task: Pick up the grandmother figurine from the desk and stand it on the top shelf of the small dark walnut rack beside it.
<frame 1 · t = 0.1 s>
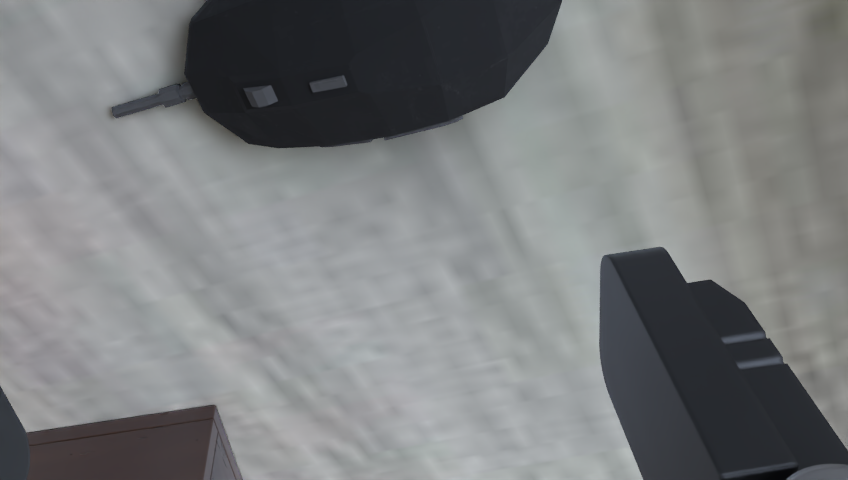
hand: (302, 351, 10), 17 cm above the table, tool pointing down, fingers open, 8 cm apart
gaming mouse: (327, 37, 26), on the table
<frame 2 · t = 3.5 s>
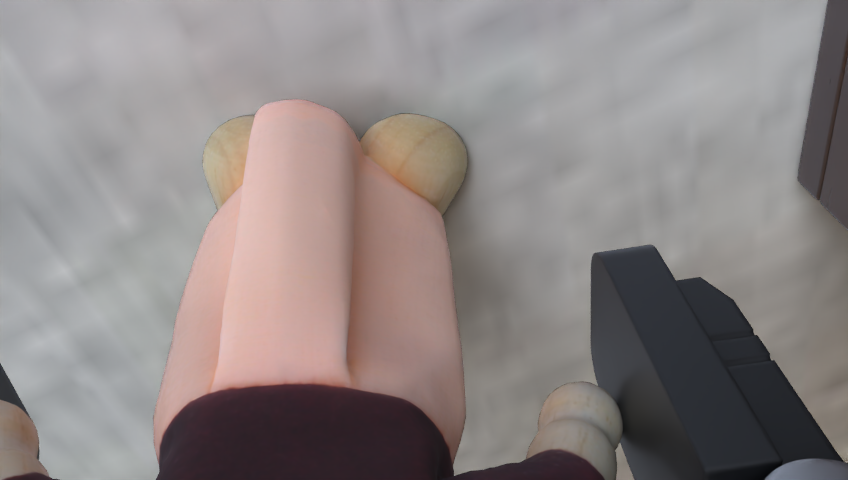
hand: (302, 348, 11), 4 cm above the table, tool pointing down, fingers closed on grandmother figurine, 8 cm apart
grandmother figurine: (304, 178, 14), on the table, touching gripper
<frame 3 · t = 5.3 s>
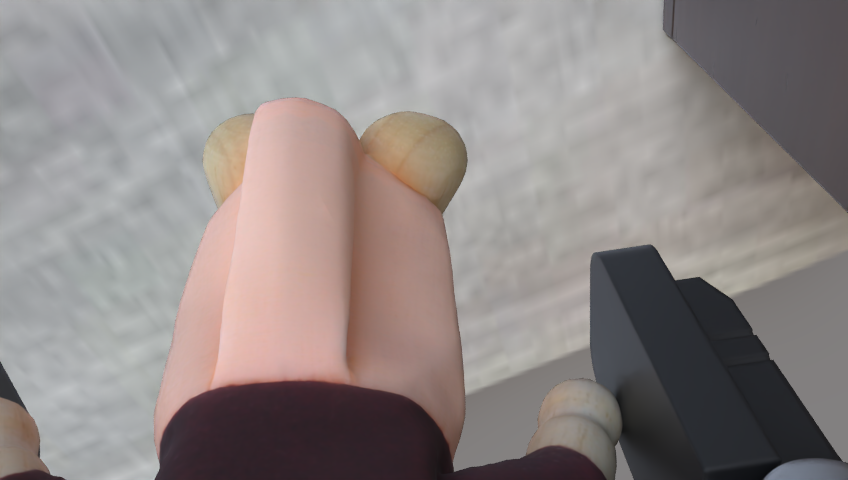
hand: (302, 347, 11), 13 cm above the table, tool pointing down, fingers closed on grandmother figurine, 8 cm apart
grandmother figurine: (304, 176, 14), point 9 cm above the table, touching gripper
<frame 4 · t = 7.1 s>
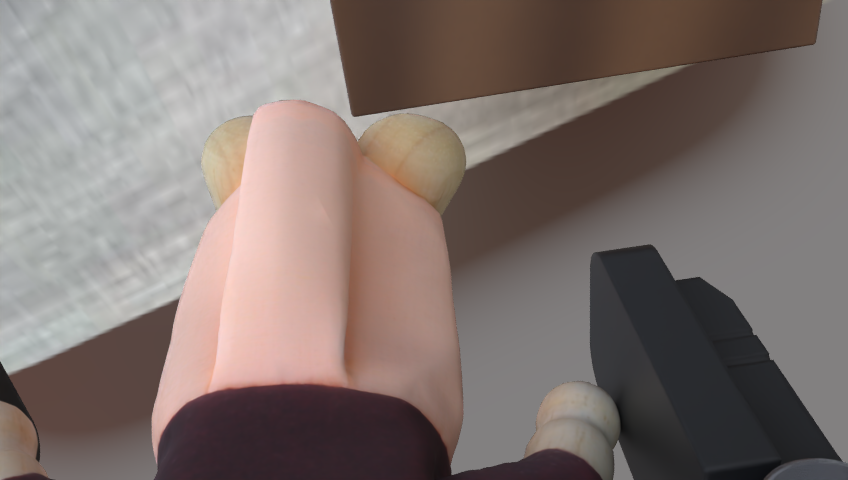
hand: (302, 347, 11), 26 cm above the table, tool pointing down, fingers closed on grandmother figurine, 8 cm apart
grandmother figurine: (303, 178, 14), point 22 cm above the table, touching gripper
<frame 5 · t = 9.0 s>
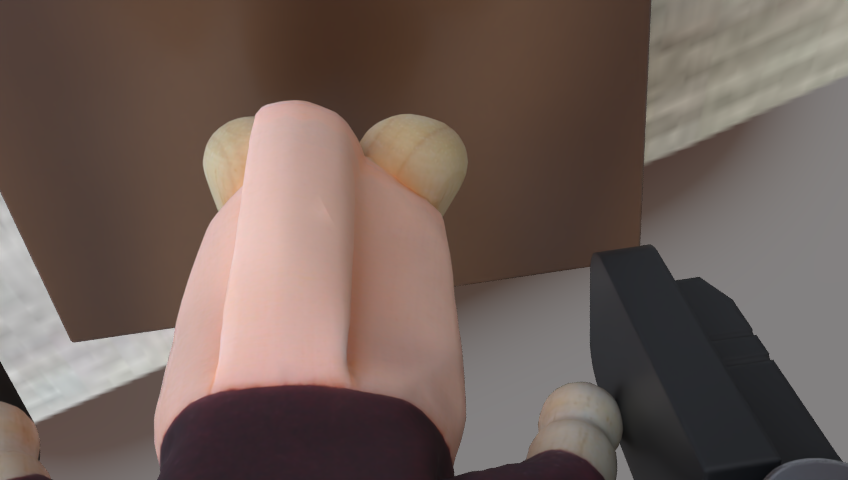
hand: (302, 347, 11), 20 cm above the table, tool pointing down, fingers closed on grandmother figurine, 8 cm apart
grandmother figurine: (305, 179, 14), point 16 cm above the table, touching gripper
when the fingers open (17 cm above the table, at t = 10.6 s): grandmother figurine stays where it is, resting on rack.
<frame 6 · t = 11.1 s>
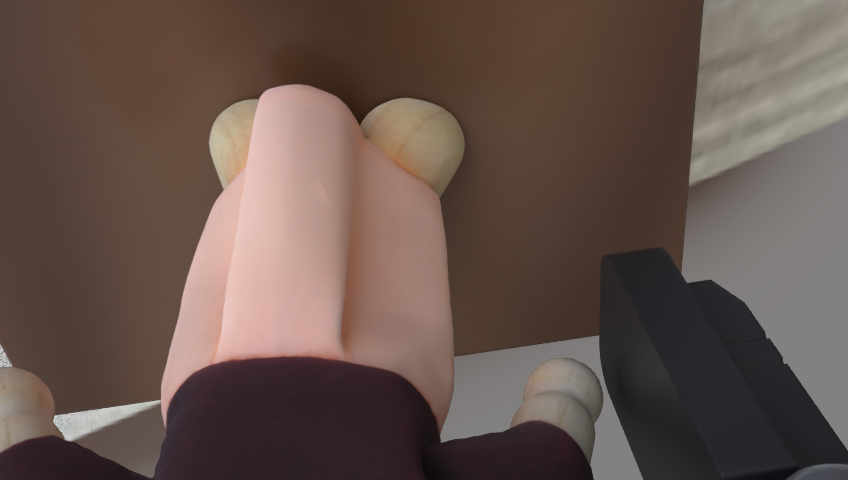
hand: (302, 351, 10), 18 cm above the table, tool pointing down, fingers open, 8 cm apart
grandmother figurine: (307, 159, 15), point 13 cm above the table, touching gripper, rack
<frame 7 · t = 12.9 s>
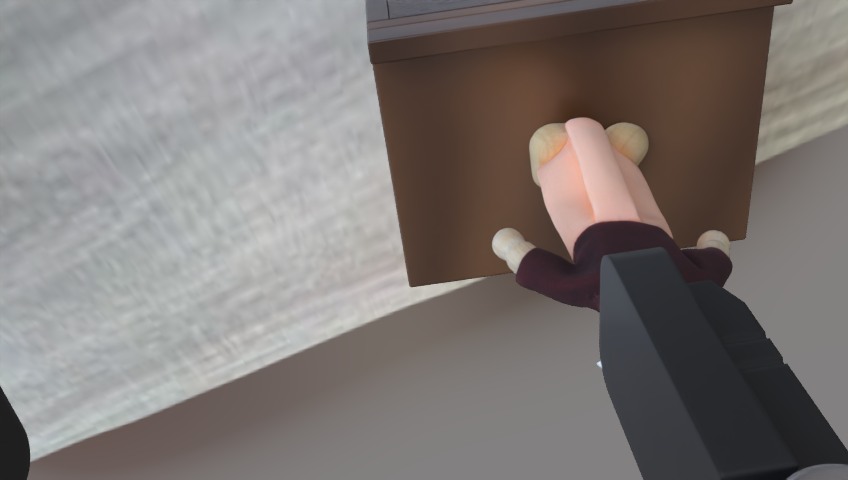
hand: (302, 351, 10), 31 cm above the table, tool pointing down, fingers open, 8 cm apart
grandmother figurine: (570, 151, 30), point 13 cm above the table, touching rack
rack: (516, 31, 41), on the table
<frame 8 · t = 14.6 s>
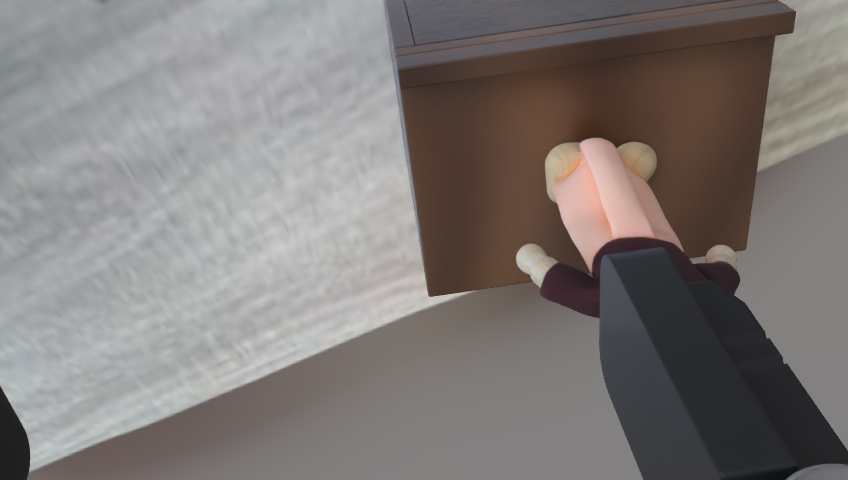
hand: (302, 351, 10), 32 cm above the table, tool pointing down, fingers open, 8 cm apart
grandmother figurine: (583, 168, 32), point 13 cm above the table, touching rack
rack: (524, 49, 42), on the table
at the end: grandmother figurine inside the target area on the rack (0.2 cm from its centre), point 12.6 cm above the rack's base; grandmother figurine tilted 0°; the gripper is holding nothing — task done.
